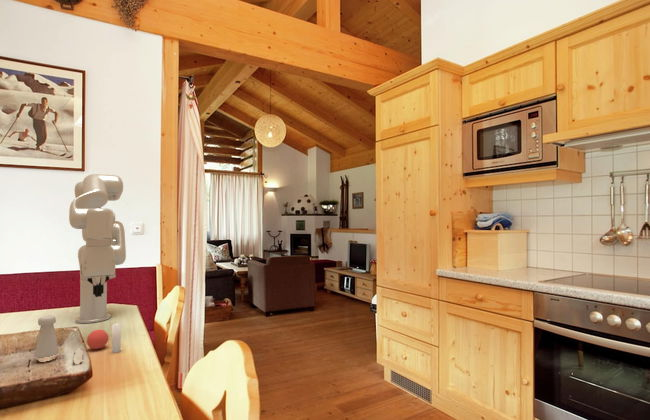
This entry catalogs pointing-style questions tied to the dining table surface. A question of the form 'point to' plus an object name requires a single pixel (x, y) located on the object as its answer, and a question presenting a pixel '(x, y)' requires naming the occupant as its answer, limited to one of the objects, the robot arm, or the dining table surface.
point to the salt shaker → (46, 338)
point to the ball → (97, 339)
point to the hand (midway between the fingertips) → (98, 296)
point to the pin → (116, 337)
